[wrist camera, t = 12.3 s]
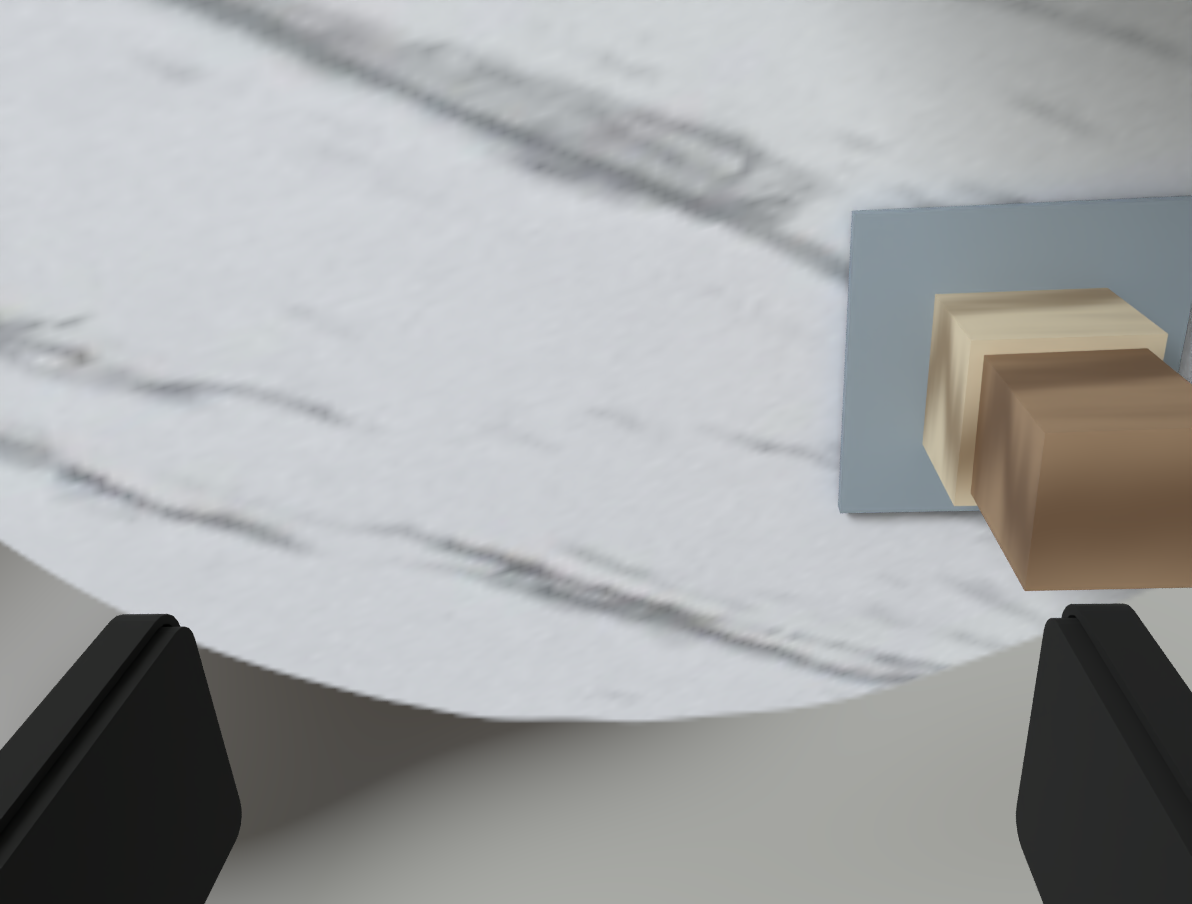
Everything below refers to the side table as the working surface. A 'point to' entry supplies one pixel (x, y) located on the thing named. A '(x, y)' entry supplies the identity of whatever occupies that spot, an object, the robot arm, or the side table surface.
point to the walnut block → (1087, 468)
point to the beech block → (1010, 328)
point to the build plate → (971, 265)
